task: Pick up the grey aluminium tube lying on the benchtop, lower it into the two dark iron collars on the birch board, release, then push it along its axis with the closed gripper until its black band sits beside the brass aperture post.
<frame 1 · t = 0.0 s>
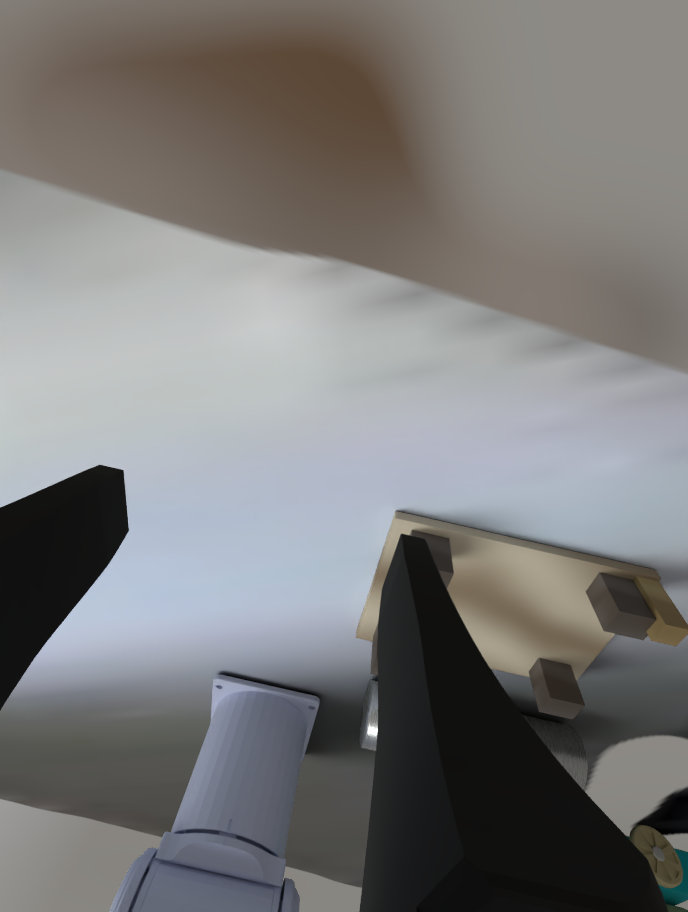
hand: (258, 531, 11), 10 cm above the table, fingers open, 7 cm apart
collar board: (490, 602, 26), on the table
tube: (464, 706, 31), on the table
toy train: (585, 829, 39), on the table
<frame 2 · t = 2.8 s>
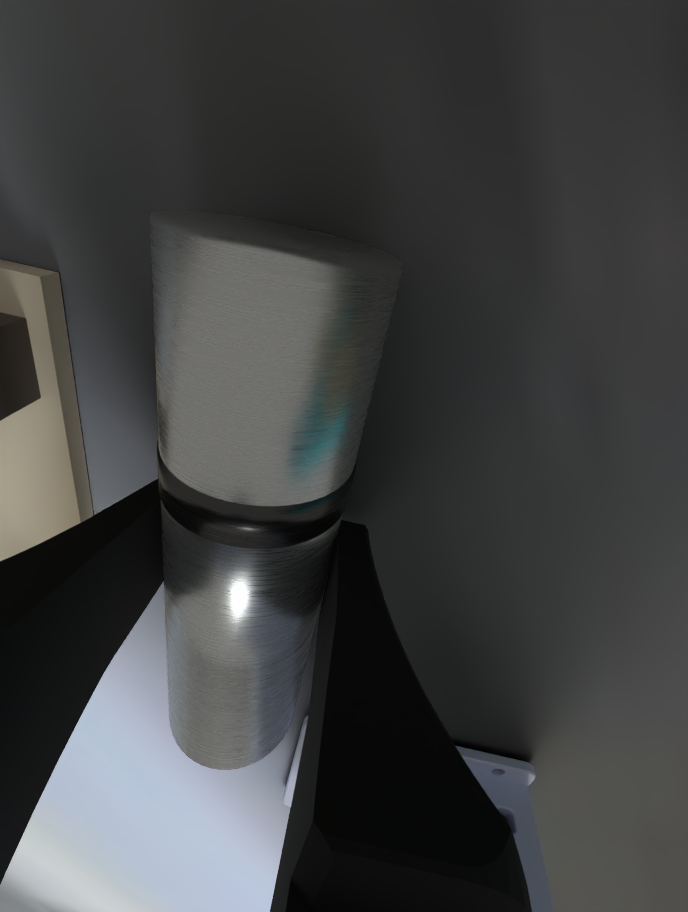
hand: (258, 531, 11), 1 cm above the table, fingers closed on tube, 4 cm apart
tube: (272, 499, 13), on the table, touching gripper
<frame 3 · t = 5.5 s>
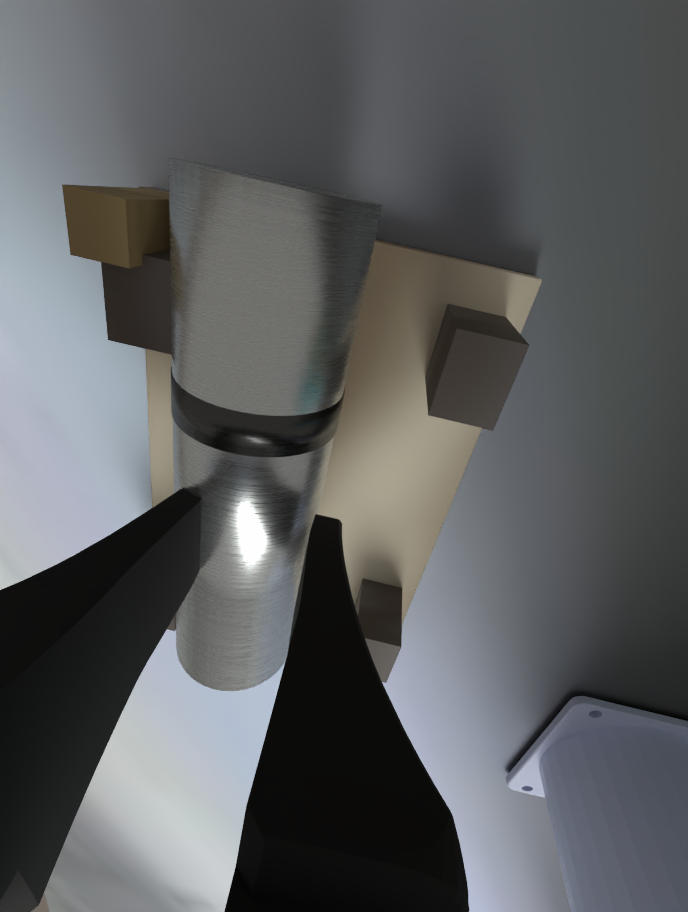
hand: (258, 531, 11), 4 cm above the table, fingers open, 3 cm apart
collar board: (302, 461, 15), on the table
tube: (315, 505, 12), point 3 cm above the table, tilted 107°, touching collar board, gripper
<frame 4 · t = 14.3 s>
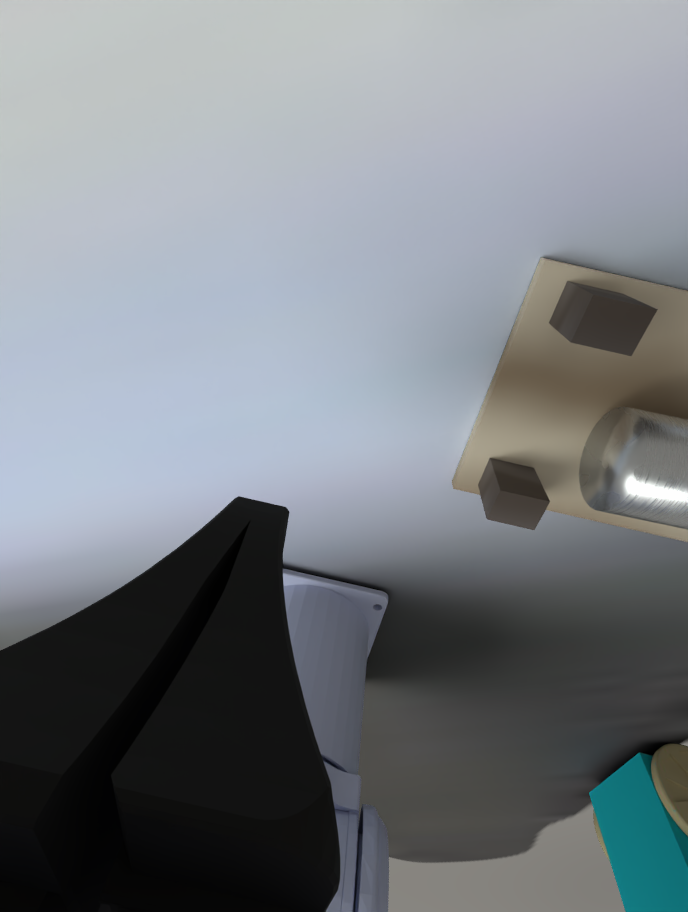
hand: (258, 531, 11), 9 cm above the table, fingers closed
collar board: (653, 422, 18), on the table
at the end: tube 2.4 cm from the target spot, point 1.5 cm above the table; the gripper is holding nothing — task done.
